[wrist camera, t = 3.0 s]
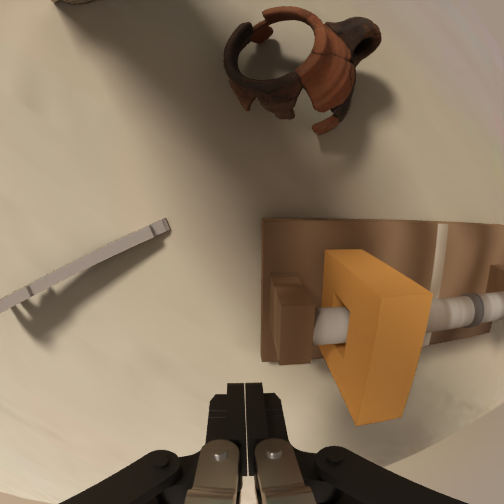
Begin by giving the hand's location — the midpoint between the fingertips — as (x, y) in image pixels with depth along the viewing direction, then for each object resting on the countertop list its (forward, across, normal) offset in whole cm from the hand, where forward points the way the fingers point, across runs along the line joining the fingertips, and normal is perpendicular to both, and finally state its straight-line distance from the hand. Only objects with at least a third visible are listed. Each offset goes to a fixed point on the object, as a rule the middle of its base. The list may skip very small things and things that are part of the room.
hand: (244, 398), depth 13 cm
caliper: (+14, +15, -2) cm, 21 cm away
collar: (+11, -8, 0) cm, 14 cm away
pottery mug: (+14, -5, -18) cm, 23 cm away
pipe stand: (+14, -15, 0) cm, 20 cm away
